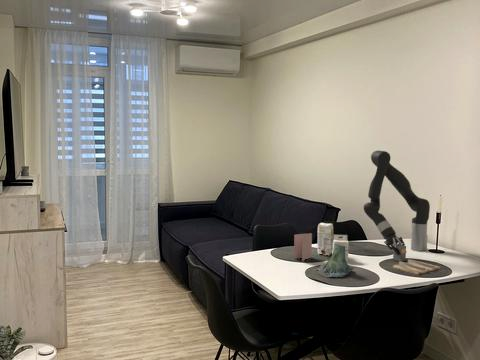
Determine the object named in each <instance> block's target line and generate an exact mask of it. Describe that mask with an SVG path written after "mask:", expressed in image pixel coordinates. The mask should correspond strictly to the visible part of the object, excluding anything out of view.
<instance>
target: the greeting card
mask: <svg viewBox="0 0 480 360" xmlns="http://www.w3.org/2000/svg"><path fill="white" fill-rule="evenodd" d="M293 236H294V238H293V241H294V242H293V243H294V244H293V245H294V247H293V259H294V258H301V257H302V259H301V261H303V260H305V259H308V258H310V257H313V256H312V255H313V253H312V250H313V249H312V244H313V242H312V241H313V233H311V232H310V233H299V234H297V233H296V234H294V235H293ZM310 259H311V258H310ZM308 260H309V259H308ZM303 262H304V261H303Z"/></svg>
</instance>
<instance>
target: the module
mask: <svg viewBox="0 0 480 360" xmlns="http://www.w3.org/2000/svg"><path fill="white" fill-rule="evenodd" d="M396 247H397V248H398V250H399V251H400V253H401V254H400V255H397V254H396V252H395V251H394V250H393V249H392V250H393V255H392V256H393V258H392V260H394V261H397V262H399V261H401V262H404V261H407V260H406V259H407V258H406V256H407V255H406V254H407V246H406V245H405V246H403V245H400V244H399V245H396Z"/></svg>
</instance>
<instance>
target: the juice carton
mask: <svg viewBox="0 0 480 360" xmlns="http://www.w3.org/2000/svg"><path fill="white" fill-rule="evenodd" d="M333 240H334V224H333V223H327V222H326V223H325V222H320V223H318V225H317V242H316V243H317V248H316V249H317V255H319V254H323V255H322V256H326V255H328V256H330V255H331V256H332V254H333ZM328 256H327V257H328Z"/></svg>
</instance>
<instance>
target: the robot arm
mask: <svg viewBox="0 0 480 360" xmlns="http://www.w3.org/2000/svg"><path fill="white" fill-rule="evenodd" d="M370 160H371V163H372V164H373V165H374V166H375V167H376V172H375V174H374V176H373V178H372V180H371V182H370V185H369V187H368V195H367V196H368V198H369V199H370V202H366V203H365V204H364V205H363V211H364V213H365V215H366V216H367V217H368V218H369V219H371V220H372V221H373V223H374V225H375V226H376V227H377V229H378V231H379V233H380V234H381V236H382V237H383V239H384V240H385V241H383V242H384V244H385V245H386V247H388V248H389V250H394V251H395V252H396V254H397V255H400V254H401V253H400V251H399V250H398V248H397V247H396V245H403V246H406V244H405V242H404V239H403V237H402V236H400V237H398V236H397V235H396V234H397V232H396V231H395V229H394V227H392V225H391V223H390V222H389V221H388V220H387V219H386V217H385V216H384V214H382V213H380V212H379V211H380V208H381V198H380V197H381V193H382V187H383V183H384V180H385V178H386V179H387V180H388V181H389V182H390V184H391V185H392V186H393V187H394V189H396V190H397V192H398V193H399V195H401V197H402V198H403V199H404V200H405V202H406V204H407V205H408V207H409V208H410V209H411V210H412V211H413V212H415V213H416V215H415V217H413V218H411V232H410V233H411V234H410V235H411V236H410V237H411V238H410V249H411V250H412V251H417V252H418V251H419V252H424V251H427V250H428V221H429V217H430V210H431V209H430V207H431V206H430V202H429V200H428V199H425V198H422V197H419V196H418V195H417V194H415V192H414V191H413V189H412V186H411V183H410V181H409V180H408V178H407V177H406V176H405V175H404V173H403V172H402V171H400V169H399V170H398V168H396V167H394V166H393V165H392V164H391V163H390V161H391V155H390V153H389V152H387V151H385V150H375V151H373V152H372V153H371V155H370Z"/></svg>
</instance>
